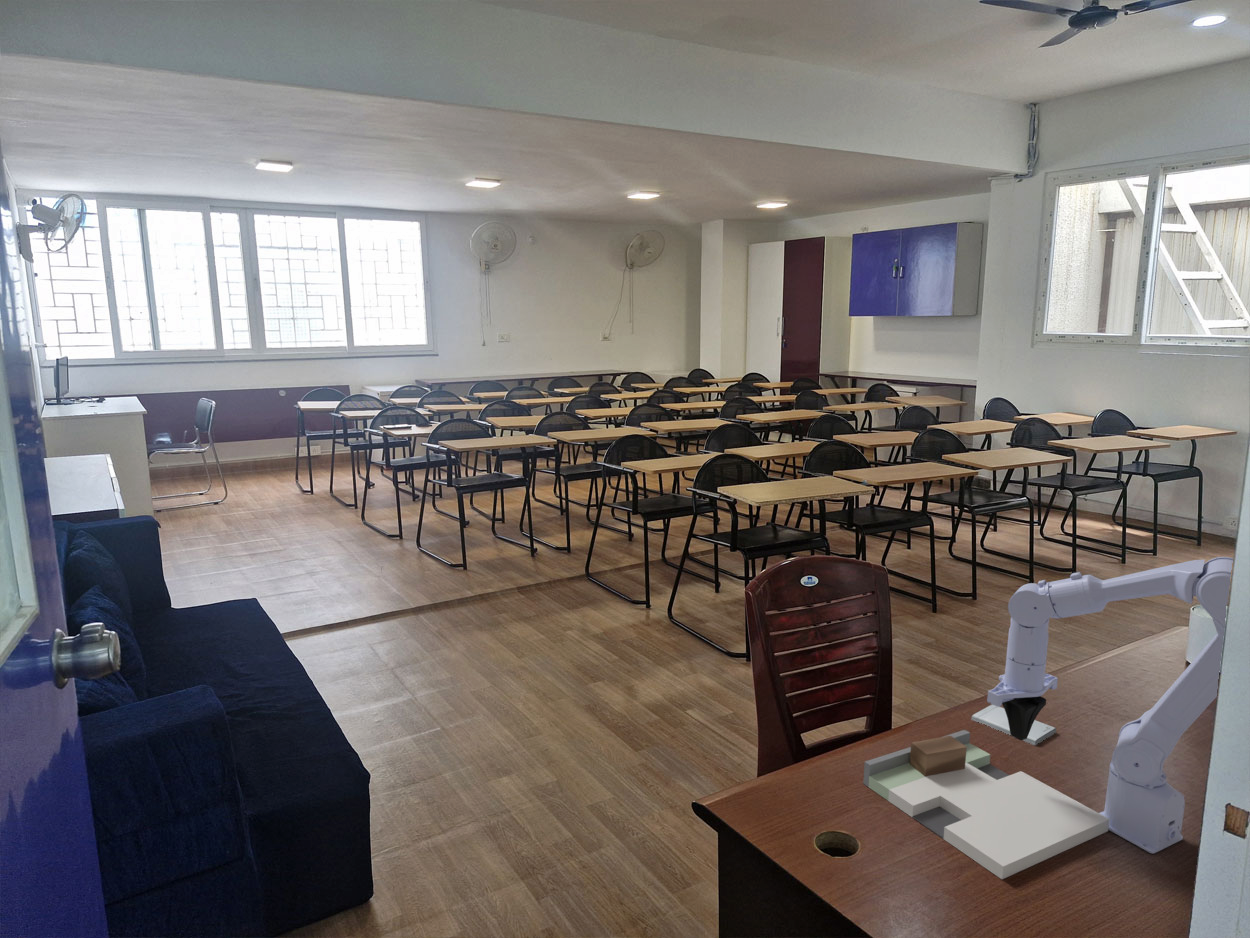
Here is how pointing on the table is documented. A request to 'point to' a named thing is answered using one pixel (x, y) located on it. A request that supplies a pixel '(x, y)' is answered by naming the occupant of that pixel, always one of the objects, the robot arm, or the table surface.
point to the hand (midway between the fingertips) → (1018, 736)
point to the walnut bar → (937, 755)
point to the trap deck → (986, 809)
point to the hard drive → (999, 721)
